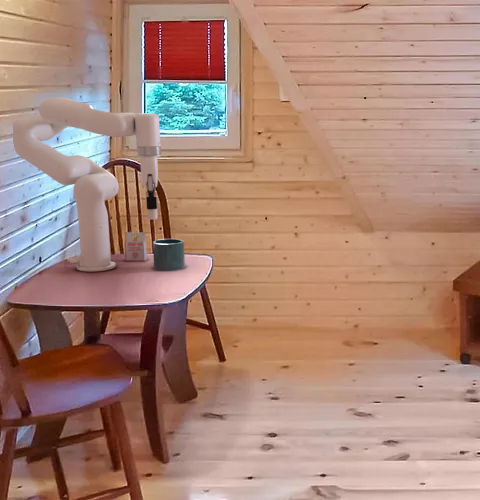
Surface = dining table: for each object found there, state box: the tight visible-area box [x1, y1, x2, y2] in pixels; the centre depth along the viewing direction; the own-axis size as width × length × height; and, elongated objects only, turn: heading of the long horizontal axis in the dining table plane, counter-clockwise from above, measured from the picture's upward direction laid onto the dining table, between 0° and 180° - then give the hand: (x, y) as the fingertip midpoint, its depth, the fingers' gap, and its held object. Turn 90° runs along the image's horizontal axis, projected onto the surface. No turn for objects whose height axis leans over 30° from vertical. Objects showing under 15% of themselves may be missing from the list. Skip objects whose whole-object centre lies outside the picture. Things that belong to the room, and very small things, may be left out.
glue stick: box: [145, 190, 159, 220], centre depth 251 cm, size 3×3×9 cm
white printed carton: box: [124, 231, 148, 262], centre depth 271 cm, size 4×7×10 cm, turn 90°
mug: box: [152, 238, 186, 272], centre depth 262 cm, size 14×10×9 cm
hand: (152, 207), depth 251 cm, fingers closed on glue stick, 3 cm apart
